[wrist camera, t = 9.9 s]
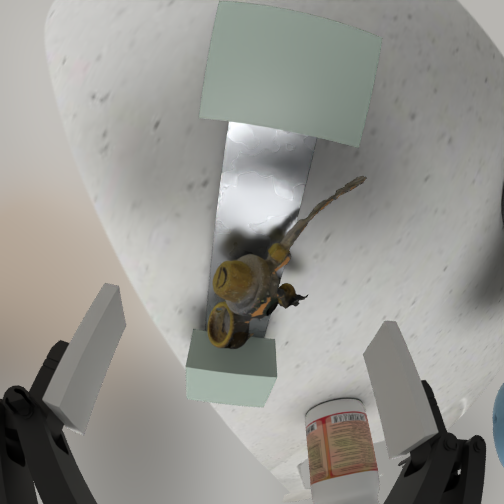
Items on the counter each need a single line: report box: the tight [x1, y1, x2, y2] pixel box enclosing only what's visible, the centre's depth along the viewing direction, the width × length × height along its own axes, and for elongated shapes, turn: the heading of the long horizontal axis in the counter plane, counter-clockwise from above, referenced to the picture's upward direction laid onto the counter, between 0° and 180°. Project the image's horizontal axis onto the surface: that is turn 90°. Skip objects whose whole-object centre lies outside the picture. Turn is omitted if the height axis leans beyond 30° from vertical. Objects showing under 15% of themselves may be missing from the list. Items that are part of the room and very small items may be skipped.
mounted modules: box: [186, 1, 382, 407], centre depth 17 cm, size 7×28×4 cm, turn 171°
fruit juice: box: [305, 399, 380, 504], centre depth 25 cm, size 9×9×28 cm
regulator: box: [207, 176, 367, 349], centre depth 18 cm, size 8×4×15 cm
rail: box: [205, 122, 317, 338], centre depth 20 cm, size 5×28×2 cm, turn 171°
